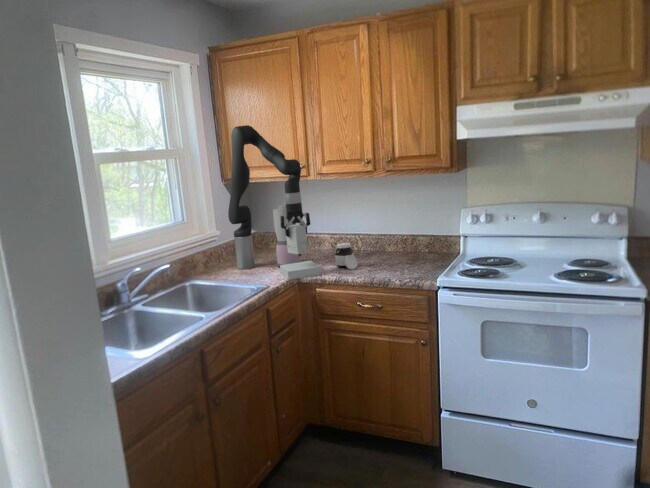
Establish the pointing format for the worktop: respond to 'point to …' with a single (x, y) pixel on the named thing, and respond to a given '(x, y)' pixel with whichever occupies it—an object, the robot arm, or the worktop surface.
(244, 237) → the robot arm
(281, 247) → the blender
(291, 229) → the small box
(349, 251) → the spread jar
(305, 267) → the block
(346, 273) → the worktop surface
